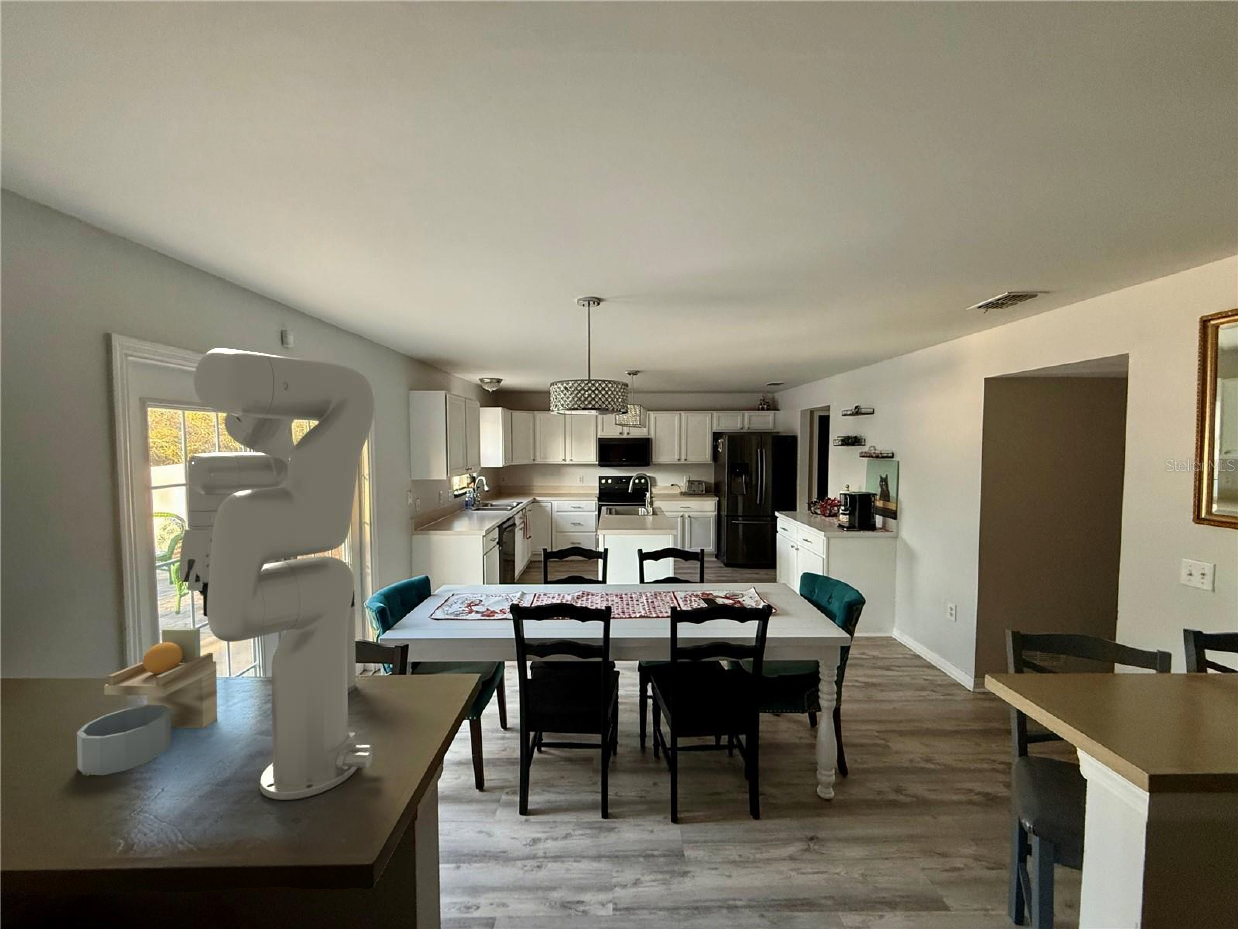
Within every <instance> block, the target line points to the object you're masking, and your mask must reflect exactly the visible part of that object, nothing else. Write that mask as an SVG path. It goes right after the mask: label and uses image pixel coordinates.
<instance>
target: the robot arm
mask: <svg viewBox="0 0 1238 929" xmlns="http://www.w3.org/2000/svg"><path fill="white" fill-rule="evenodd" d="M196 365H197V366H196V368H195V371H194V376H193V377H194V378H193V385H194V391H195V394H196V397H197V398H198V399H199V400H200V402H201V403H202V404H203V405H205V406H207V407H209V408H210V409H213V410H216V411H218V412H223V413H225V414H226V415H225V418H224V428H225V431H226V433H227V434H228V436H230V438H232V440H233V441H235V442H237V443H238V444H239V445H241V446H243V447H245V448H247V449H250V450H252V451H255V452H206V453H195V454H193V455H191V456H190V457H189V458H188V461H187V499H188V500H187V503H188V504H187V506H188V510H187V512H188V513H187V514H188V515H187V516H188V525H187V526H188V527H187V528H185V529H184V532H183V537H182V540H181V547H180V556H179V567H178V568H179V569H178V570H179V572H178V573H179V574H178V575H179V581H180V582H182V583H187V586H186V587H187V588H186V590H187V591H190V592H198V593H199V595H200V596H201V597H202V600H203V601H202V602H203V604H202V607H203V608H202V613H203V617H206V618H207V623H208V627H209V630H210V632H211V633H212V635H213V636H214V637H216V638H217V639H218V640H220V641H223V642H227V643H231V642H232V643H234V642H235V643H236V642H242V641H247V640H252V639H256V638H259V637H265V636H268V635H271V634H277V633H282V632H284V631H285V633H284V634H283V635H282V637H281V639H280V640H279V642H278V644H277V646H276V648H275V650H274V652H273V656H272V660H271V719H272V720H271V722H272V723H271V724H272V726H271V727H272V734H271V735H272V763H271V764H270V765H268V767H266V768H265V769H264V771H263V772H262V773H261V775H260V778H259V790H260V792H261V793H262V794H263V796H266V797H267V798H270V799H273V800H283V801H285V800H287V801H288V800H289V801H291V800H298V799H303V798H308V797H311V796H314V795H318V794H321V793H323V792H326V791H328V790H331V789H333V788H334V787H336V786H338V785H340V784H341V783H343V782H344V781H346V780H347V779H348V778H350V777H351V776H352V775H353V774H354V773H355V772H356V770H357V769H358V768H369V767H370V766H371V764H372V761H373V752H372V751H373V745H372V744H358V743H357V742H356V733H355V732H349V706H348V704H349V702H348V698H349V697H348V696H349V695H348V694H349V693H348V690H347V635H348V621H349V614H350V608H351V603H352V598H353V591H354V592H355V580H354V574H353V572H352V570H351V567H350V566H349V564H347V563H346V562H345V561H344V560H342V559H340V558H337V557H334V556H325V555H324V556H323V555H317V556H311V555H315V554H321V553H322V554H323V553H326V552H330V551H333V550H336V549H338V548H340V547H341V546H342V545H343V544H344V543H345V542H346V540H347V539H348V536H349V532H350V528H351V522H352V515H353V507H354V501H355V500H354V499H355V494H356V487H357V479H358V478H357V477H358V468H359V465H360V458H361V455H362V454H363V449H364V446H365V444H366V441H367V440H368V438H369V434H370V432H371V428H372V426H373V420H374V417H375V416H374V415H375V397H374V392H373V388H372V386H371V383H370V382H369V380H368V379H367V377H366V376H365V375H364V374H362V373H361V372H360V371H358V370H356V369H353V368H351V367H348V366H345V365H341V364H337V363H332V362H328V361H327V362H325V361H320V360H314V359H313V360H312V359H306V358H298V357H297V358H296V357H290V356H289V357H288V356H282V355H275V354H267V353H259V352H253V351H252V352H251V351H244V350H237V349H230V348H229V349H228V348H220V347H219V348H213V349H211V350H209V351H207V352H206V353H205V354H204V355H203V356H202V357H201V358H200V359H199V362H198V363H197V364H196ZM295 420H297V421H301V420H302V421H316V422H318V423H316V424H315V425H314V426H313V427H311V428H310V429H309V430H308V431H307V432H306V433H304V435H303V436H301V438H300V439H299V440H298V441H297V442H296V444H295V442H294V440H293V437H292V436H291V434H290V433H289V432H288V431H289V429H290V428H291V426H292V425H293V423H294V421H295ZM303 556H309V557H303ZM295 557H297V558H295ZM298 557H300V558H298ZM289 558H292V559H289ZM293 558H295V559H293ZM281 559H282V561H279V562H278V561H277V562H271V563H269V562H270V561H276V560H281ZM283 559H288V560H283Z"/></svg>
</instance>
